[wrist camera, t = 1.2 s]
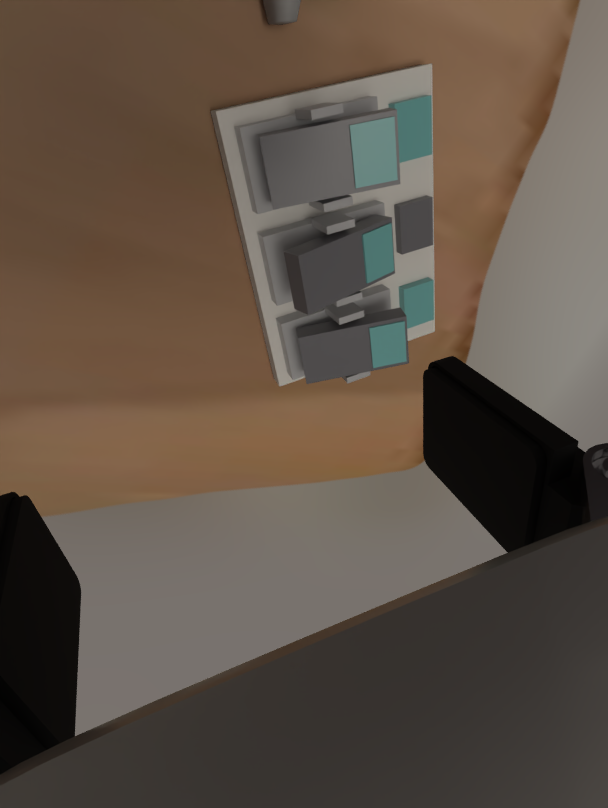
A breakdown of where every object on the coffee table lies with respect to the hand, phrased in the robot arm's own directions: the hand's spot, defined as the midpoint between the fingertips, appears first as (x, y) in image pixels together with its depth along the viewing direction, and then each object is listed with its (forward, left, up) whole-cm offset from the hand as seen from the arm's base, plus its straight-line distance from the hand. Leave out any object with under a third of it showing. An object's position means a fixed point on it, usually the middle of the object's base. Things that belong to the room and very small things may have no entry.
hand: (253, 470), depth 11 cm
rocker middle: (+4, +12, -22) cm, 25 cm away
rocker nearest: (-2, +12, -22) cm, 25 cm away
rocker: (+11, +12, -22) cm, 27 cm away
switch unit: (+4, +14, -27) cm, 30 cm away
